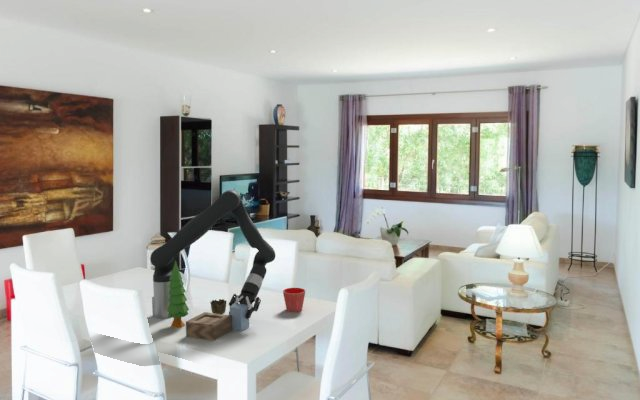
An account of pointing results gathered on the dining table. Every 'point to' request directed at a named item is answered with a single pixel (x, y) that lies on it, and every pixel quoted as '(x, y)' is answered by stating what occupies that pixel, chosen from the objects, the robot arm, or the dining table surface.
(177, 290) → the decorative tree
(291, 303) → the flower pot
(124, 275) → the dining table surface
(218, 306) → the cup
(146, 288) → the dining table surface
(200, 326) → the square wooden tray
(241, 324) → the blue-grey square-topped block
